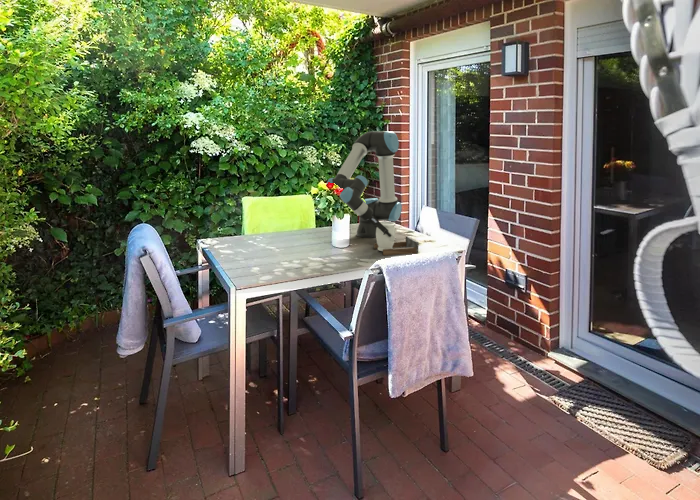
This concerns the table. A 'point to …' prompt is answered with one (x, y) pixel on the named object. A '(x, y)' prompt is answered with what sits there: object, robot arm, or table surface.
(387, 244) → the jar
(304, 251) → the table surface
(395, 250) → the channel
